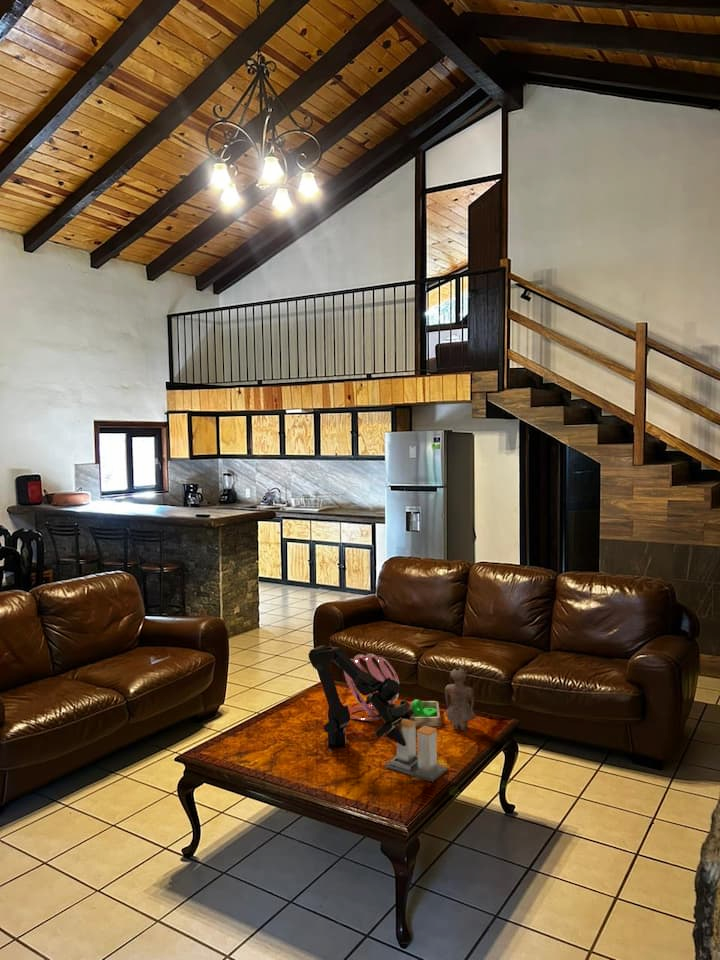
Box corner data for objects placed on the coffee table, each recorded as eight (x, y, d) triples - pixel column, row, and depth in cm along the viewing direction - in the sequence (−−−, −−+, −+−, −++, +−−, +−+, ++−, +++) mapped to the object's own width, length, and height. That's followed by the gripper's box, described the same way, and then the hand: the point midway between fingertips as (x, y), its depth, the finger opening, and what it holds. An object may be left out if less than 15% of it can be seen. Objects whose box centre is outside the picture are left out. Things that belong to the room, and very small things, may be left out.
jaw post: (396, 762, 259) (396, 723, 258) (404, 756, 263) (403, 718, 262) (408, 766, 256) (408, 726, 254) (416, 760, 260) (415, 721, 259)
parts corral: (411, 726, 294) (411, 717, 294) (411, 708, 312) (410, 701, 312) (440, 725, 293) (440, 717, 293) (438, 708, 311) (438, 701, 311)
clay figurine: (478, 725, 292) (477, 666, 291) (471, 735, 284) (470, 674, 282) (449, 720, 298) (447, 663, 296) (441, 730, 289) (439, 670, 287)
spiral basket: (314, 678, 299) (366, 643, 295) (335, 672, 325) (383, 640, 321) (348, 738, 290) (402, 703, 286) (367, 726, 317) (416, 694, 313)
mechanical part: (422, 723, 298) (422, 704, 297) (411, 719, 302) (411, 701, 301) (439, 714, 306) (439, 696, 306) (428, 710, 311) (427, 693, 310)
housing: (385, 767, 259) (384, 725, 258) (400, 756, 267) (399, 715, 266) (432, 782, 247) (431, 738, 246) (446, 770, 255) (445, 727, 254)
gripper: (381, 703, 252) (408, 741, 247) (409, 687, 267) (435, 722, 262) (364, 720, 258) (389, 757, 252) (392, 703, 273) (417, 737, 267)
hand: (408, 743), depth 258 cm, fingers closed on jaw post, 5 cm apart
